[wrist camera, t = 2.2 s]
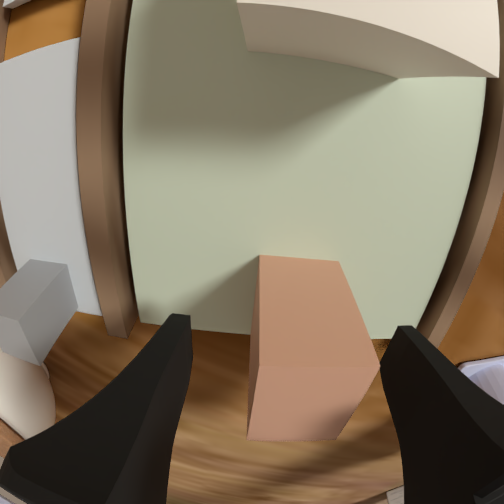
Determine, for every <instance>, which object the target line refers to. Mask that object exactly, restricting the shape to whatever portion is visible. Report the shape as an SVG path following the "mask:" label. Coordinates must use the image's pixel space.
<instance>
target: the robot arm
mask: <svg viewBox="0 0 504 504" xmlns="http://www.w3.org/2000/svg"><path fill="white" fill-rule="evenodd" d="M192 360H193V350H192V334H191V316H190V315H184V314H176V313H172V314H170V315H169V316H168V318H167V319H166V320H165V322H164V323H163V324H162V326H161V327H160V328H159V330H158V331H157V332H156V333H155V335H154V336H153V337H152V338H151V340H150V341H149V342H148V343H147V344H146V345H145V347H144V348H143V349H142V350H141V351H140V352H139V354H138V355H137V356H136V357H135V358H134V359H133V360H132V361H131V362H130V363H129V364H128V365H127V366H126V367H125V368H124V369H123V371H122V372H121V373H120V374H119V375H118V376H117V377H116V378H115V379H113V380H112V381H111V382H110V383H109V384H108V385H107V386H106V387H105V388H104V389H102V390H101V391H100V392H99V393H98V394H97V395H95V396H94V397H93V398H92V399H90V400H89V401H88V402H86V403H85V404H84V405H83V406H81V407H80V408H79V409H77V410H76V411H74V412H73V413H72V414H70V415H69V416H67V417H66V418H64V419H62V420H61V421H59V422H57V423H56V424H54V425H53V426H51V427H49V428H48V429H46V430H44V431H42V432H40V433H39V434H37V435H34V436H32V437H30V438H28V439H26V440H24V441H22V442H20V443H18V444H15V445H13V446H11V447H10V448H9V450H8V452H7V454H6V456H5V459H4V461H3V464H2V466H1V469H0V487H2V488H3V489H4V490H6V491H7V492H9V493H11V494H12V495H14V496H15V497H17V498H19V499H20V500H22V501H24V502H26V503H27V504H166V497H167V487H168V478H169V469H170V462H171V454H172V447H173V443H174V438H175V434H176V430H177V426H178V422H179V419H180V415H181V411H182V408H183V404H184V400H185V396H186V393H187V389H188V385H189V380H190V374H191V367H192ZM380 373H381V379H382V384H383V389H384V392H385V396H386V399H387V402H388V405H389V409H390V412H391V415H392V418H393V422H394V425H395V429H396V432H397V436H398V440H399V444H400V450H401V458H402V466H403V479H404V504H504V356H500V357H495V358H490V359H484V360H478V361H472V362H465V363H463V364H461V365H460V366H459V367H458V368H457V367H456V366H455V365H454V364H452V363H451V362H450V361H449V360H448V359H447V358H446V357H445V356H444V355H443V354H442V353H441V352H440V351H439V350H438V349H437V348H436V347H435V346H434V345H433V344H432V343H431V342H430V341H429V340H428V339H427V338H425V337H424V336H423V335H422V334H421V333H420V332H419V331H418V330H417V329H415V328H414V327H413V326H412V325H402V326H397V329H396V331H395V333H394V335H393V337H392V339H391V341H390V343H389V345H388V347H387V349H386V351H385V353H384V355H383V357H382V359H381V361H380ZM0 504H15V503H13V502H12V501H10V500H9V499H7V498H5V497H4V496H2V495H1V494H0Z"/></svg>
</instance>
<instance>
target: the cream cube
mask: <svg viewBox="0 0 504 504" xmlns="http://www.w3.org/2000/svg"><path fill="white" fill-rule="evenodd" d="M237 6H238V11H239V15H240V19H241V24H242V28H243V32H244V37H245V41H246V46H247V50H248V51H252V52H264V53H275V54H284V55H292V56H299V57H306V58H312V59H318V60H324V61H329V62H334V63H339V64H344V65H349V66H353V67H357V68H362V69H366V70H370V71H374V72H377V73H381V74H385V75H388V76H392V77H395V78H398V79H403V78H418V77H490V78H499V60H500V37H499V16H498V4H497V0H237Z"/></svg>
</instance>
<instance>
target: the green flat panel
mask: <svg viewBox="0 0 504 504" xmlns="http://www.w3.org/2000/svg"><path fill="white" fill-rule="evenodd" d="M485 90H486V77H418V78H403V79H398V78H395V77H392V76H388V75H385V74H381V73H377V72H374V71H370V70H366V69H362V68H357V67H353V66H349V65H344V64H339V63H334V62H329V61H324V60H318V59H312V58H306V57H299V56H292V55H284V54H275V53H264V52H252V51H248V50H247V46H246V41H245V37H244V32H243V28H242V24H241V19H240V15H239V11H238V6H237V0H133V3H132V10H131V17H130V25H129V33H128V42H127V52H126V64H125V79H124V99H123V168H124V190H125V206H126V218H127V230H128V240H129V249H130V257H131V265H132V273H133V280H134V287H135V293H136V300H137V306H138V312H139V317H140V322H142V323H149V324H156V325H162V324H163V323H164V322H165V320H166V319H167V318H168V316H169V315H170V314H172V313H176V314H184V315H190V316H191V329H196V330H205V331H215V332H225V333H237V334H249V335H250V362H249V389H248V417H247V440H254V441H321V440H336V439H337V437H338V436H339V434H340V433H341V431H342V430H343V428H344V427H345V425H346V424H347V422H348V421H349V419H350V417H351V416H352V414H353V413H354V411H355V410H356V408H357V406H358V405H359V403H360V401H361V400H362V398H363V396H364V395H365V393H366V391H367V390H368V388H369V386H370V384H371V383H372V381H373V379H374V377H375V376H376V374H377V372H378V370H379V368H380V363H379V360H378V358H377V355H376V352H375V350H374V347H373V344H372V341H371V339H392V337H393V335H394V333H395V331H396V329H397V326H402V325H412V326H413V327H414V328H415V329H416V327H417V325H418V323H419V321H420V319H421V317H422V315H423V313H424V311H425V308H426V306H427V304H428V302H429V300H430V297H431V295H432V293H433V290H434V288H435V286H436V283H437V281H438V278H439V276H440V273H441V271H442V268H443V266H444V263H445V261H446V258H447V255H448V252H449V250H450V247H451V244H452V241H453V238H454V235H455V232H456V229H457V226H458V223H459V220H460V216H461V213H462V210H463V206H464V203H465V199H466V195H467V192H468V188H469V184H470V180H471V176H472V171H473V167H474V162H475V157H476V153H477V147H478V142H479V136H480V130H481V124H482V116H483V109H484V100H485Z"/></svg>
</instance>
